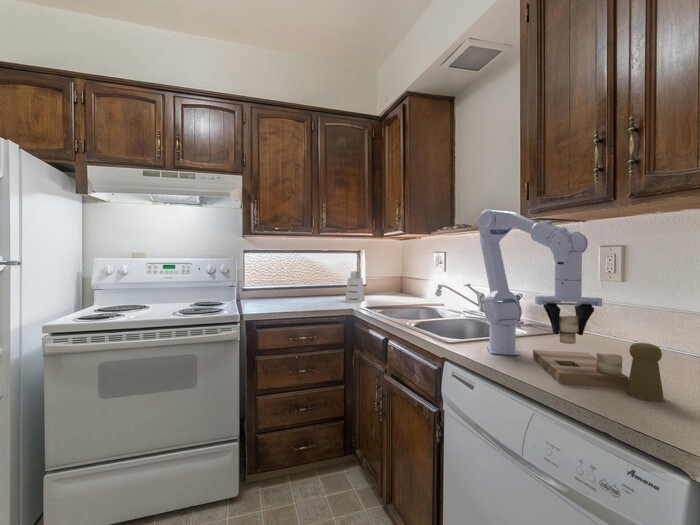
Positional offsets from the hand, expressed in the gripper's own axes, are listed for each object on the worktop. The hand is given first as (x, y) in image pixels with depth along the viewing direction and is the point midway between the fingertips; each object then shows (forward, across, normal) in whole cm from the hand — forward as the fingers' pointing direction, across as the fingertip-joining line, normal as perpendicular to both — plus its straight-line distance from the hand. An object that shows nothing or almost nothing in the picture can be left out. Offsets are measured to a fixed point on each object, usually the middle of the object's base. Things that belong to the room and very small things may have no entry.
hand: (567, 333), depth 87 cm
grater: (+10, -79, +122) cm, 146 cm away
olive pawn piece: (+10, +10, -12) cm, 19 cm away
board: (+10, +2, +2) cm, 10 cm away
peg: (+2, 0, 0) cm, 2 cm away
